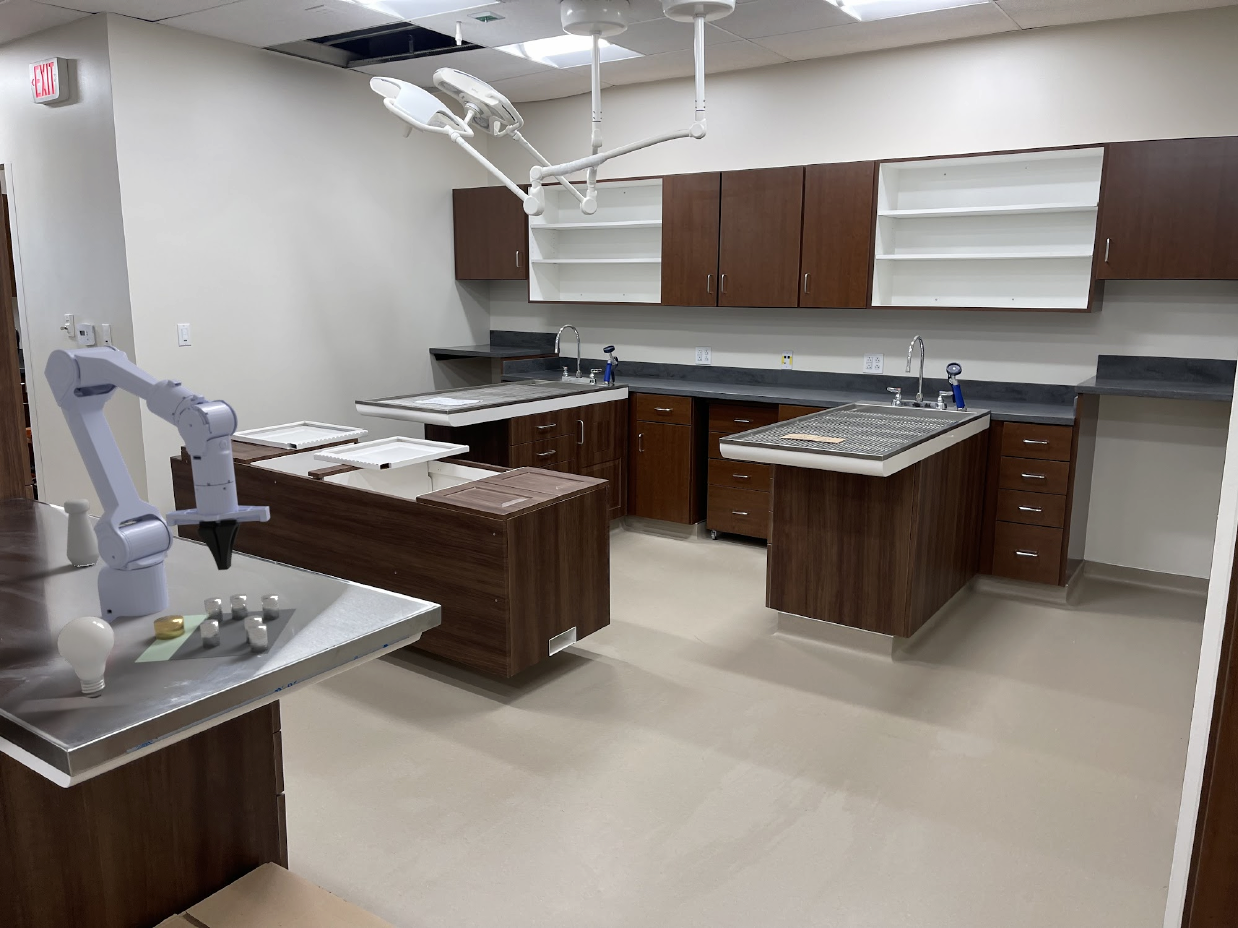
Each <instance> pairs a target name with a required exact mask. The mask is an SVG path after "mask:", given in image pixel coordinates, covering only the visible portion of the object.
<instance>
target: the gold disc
mask: <svg viewBox="0 0 1238 928" xmlns="http://www.w3.org/2000/svg"><path fill="white" fill-rule="evenodd" d="M183 616H184V615H180V614H179V615H178V614H174V615H173V614H171V615H166V616H162V617H159V618H156V619H155V620H154V621H153V626H154V635H155V640H157V639H158V640H170V639H175V638H178V637H181V636H183V635H184V634H185V627H184V619H183Z"/></svg>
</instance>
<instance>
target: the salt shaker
mask: <svg viewBox="0 0 1238 928" xmlns="http://www.w3.org/2000/svg"><path fill="white" fill-rule="evenodd" d="M90 507H91V506H90V501H89V500H88V499H87V498H73V499H68V500H67V501H65V502H64V504H63V510H64V513H65V514H68V517H67V540H66V541H67V543H66V557H67V560H69V562H70V563H71V564H72V565H75V566H78V565H79V566H80V565H87V564H92V563H96V562H97V561H99V558H100V557H101V556H100V554H99V551H98V541H97V536H96V533H95V531H94V527H93V525H92V522H91V519H90V516H89V514H88V513H89V512H88V511H89V510H90ZM97 563H98V562H97ZM97 563H96V564H97ZM75 566H74V567H75Z"/></svg>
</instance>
